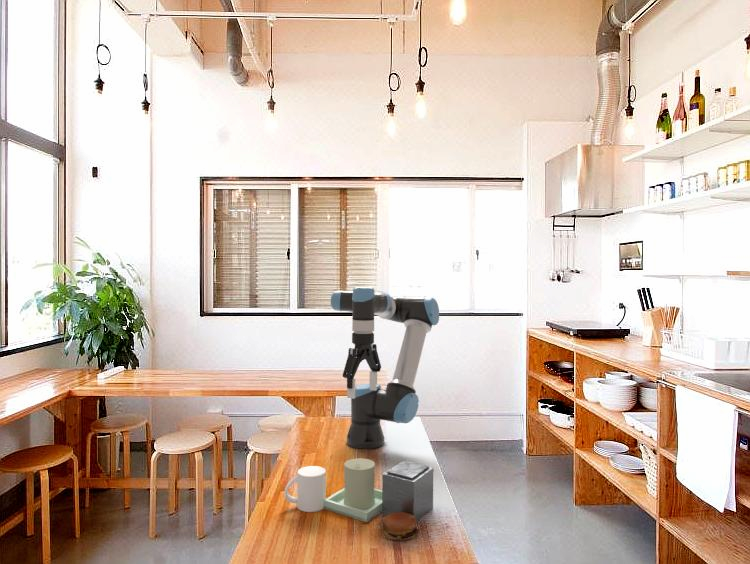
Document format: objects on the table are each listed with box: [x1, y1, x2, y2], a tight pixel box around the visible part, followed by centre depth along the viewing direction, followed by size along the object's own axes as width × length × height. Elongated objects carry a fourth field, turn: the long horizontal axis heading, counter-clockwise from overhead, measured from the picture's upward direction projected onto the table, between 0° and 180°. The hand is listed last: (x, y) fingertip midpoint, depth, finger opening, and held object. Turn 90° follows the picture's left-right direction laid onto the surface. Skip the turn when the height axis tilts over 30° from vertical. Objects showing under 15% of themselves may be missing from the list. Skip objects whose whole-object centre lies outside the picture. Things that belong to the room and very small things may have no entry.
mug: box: [283, 465, 327, 513], centre depth 151 cm, size 8×10×12 cm
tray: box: [323, 487, 382, 523], centre depth 152 cm, size 15×15×2 cm
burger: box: [380, 512, 420, 541], centre depth 136 cm, size 10×9×5 cm
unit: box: [381, 460, 434, 523], centre depth 148 cm, size 12×10×13 cm
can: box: [343, 457, 376, 510], centre depth 152 cm, size 9×9×12 cm
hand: (362, 393), depth 178 cm, fingers open, 13 cm apart
